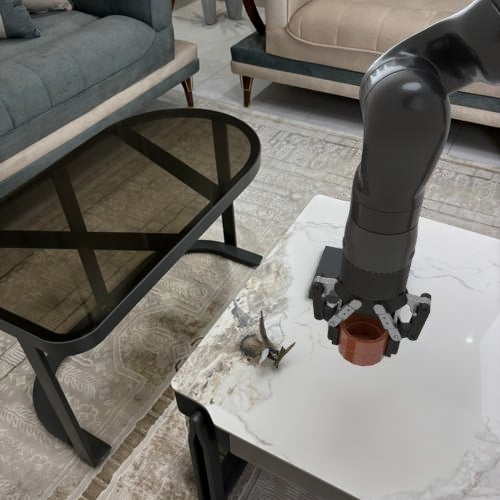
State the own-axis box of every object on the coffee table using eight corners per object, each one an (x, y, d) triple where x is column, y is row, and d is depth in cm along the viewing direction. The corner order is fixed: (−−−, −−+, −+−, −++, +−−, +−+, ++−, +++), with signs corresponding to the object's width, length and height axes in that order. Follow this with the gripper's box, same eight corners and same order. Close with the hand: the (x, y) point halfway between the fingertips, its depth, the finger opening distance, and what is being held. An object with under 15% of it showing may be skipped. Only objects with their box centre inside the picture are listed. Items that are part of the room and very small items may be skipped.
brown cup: (388, 336, 67) (393, 311, 64) (382, 373, 62) (387, 348, 59) (341, 326, 68) (345, 301, 65) (332, 362, 64) (335, 336, 61)
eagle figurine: (302, 346, 85) (267, 311, 90) (291, 340, 79) (254, 303, 83) (272, 379, 85) (238, 343, 90) (258, 375, 79) (223, 336, 83)
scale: (404, 267, 101) (407, 254, 99) (395, 318, 91) (398, 305, 89) (325, 252, 106) (326, 239, 104) (307, 299, 96) (308, 286, 93)
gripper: (448, 238, 55) (420, 337, 66) (320, 217, 59) (313, 313, 70) (446, 283, 50) (416, 383, 60) (305, 257, 54) (300, 355, 64)
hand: (361, 345), depth 65 cm, fingers closed on brown cup, 6 cm apart
